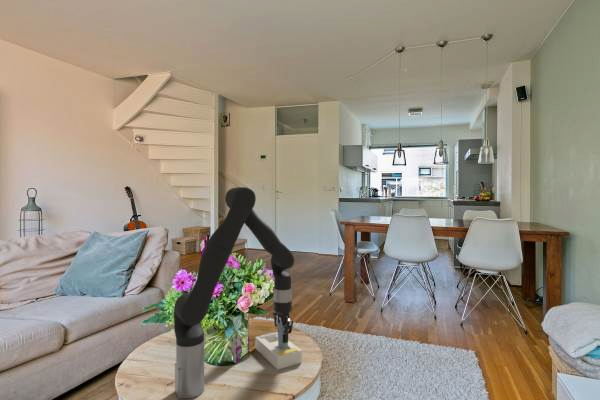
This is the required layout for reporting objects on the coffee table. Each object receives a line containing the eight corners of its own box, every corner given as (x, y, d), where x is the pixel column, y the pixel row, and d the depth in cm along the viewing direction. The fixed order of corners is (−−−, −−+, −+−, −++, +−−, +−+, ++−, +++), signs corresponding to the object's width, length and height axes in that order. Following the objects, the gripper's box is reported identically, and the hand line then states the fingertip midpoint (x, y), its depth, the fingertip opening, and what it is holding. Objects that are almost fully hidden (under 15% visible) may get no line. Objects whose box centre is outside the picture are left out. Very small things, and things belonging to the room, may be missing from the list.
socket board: (277, 369, 131) (277, 356, 131) (255, 348, 150) (255, 336, 150) (301, 362, 137) (301, 349, 137) (277, 342, 156) (277, 331, 156)
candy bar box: (239, 350, 148) (239, 313, 148) (249, 352, 146) (249, 314, 146) (225, 362, 137) (225, 321, 137) (236, 364, 136) (236, 323, 136)
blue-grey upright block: (280, 350, 136) (280, 325, 136) (276, 346, 140) (276, 322, 140) (289, 347, 138) (289, 323, 138) (285, 344, 142) (285, 320, 142)
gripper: (267, 296, 143) (267, 336, 143) (282, 305, 131) (282, 349, 131) (282, 293, 147) (283, 332, 147) (299, 302, 135) (299, 345, 135)
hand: (282, 340), depth 139 cm, fingers closed on blue-grey upright block, 4 cm apart
